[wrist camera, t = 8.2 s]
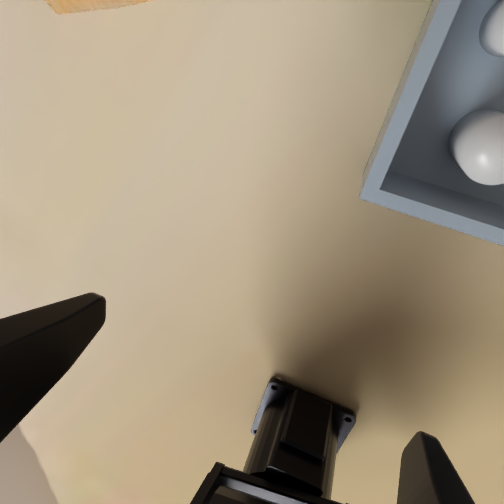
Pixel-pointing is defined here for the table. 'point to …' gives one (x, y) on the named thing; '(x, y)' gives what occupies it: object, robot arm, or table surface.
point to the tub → (447, 124)
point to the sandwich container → (88, 5)
